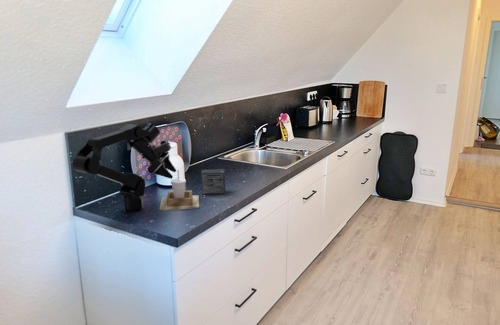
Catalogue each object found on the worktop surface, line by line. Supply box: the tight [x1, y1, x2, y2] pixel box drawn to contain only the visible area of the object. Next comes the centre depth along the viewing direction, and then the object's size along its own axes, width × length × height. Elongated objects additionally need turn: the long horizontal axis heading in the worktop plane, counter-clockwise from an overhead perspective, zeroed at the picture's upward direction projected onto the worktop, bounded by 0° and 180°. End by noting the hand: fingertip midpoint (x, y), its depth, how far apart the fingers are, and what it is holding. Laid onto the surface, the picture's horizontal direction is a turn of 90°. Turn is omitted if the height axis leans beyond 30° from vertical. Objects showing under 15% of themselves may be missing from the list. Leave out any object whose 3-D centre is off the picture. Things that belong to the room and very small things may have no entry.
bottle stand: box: [159, 190, 200, 211], centre depth 175 cm, size 16×14×4 cm
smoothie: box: [170, 169, 187, 198], centre depth 173 cm, size 6×6×14 cm
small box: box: [200, 168, 226, 196], centre depth 187 cm, size 11×6×10 cm, turn 92°
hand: (173, 174), depth 171 cm, fingers open, 9 cm apart
